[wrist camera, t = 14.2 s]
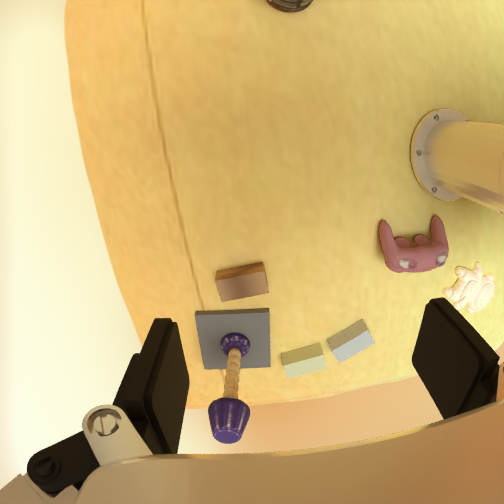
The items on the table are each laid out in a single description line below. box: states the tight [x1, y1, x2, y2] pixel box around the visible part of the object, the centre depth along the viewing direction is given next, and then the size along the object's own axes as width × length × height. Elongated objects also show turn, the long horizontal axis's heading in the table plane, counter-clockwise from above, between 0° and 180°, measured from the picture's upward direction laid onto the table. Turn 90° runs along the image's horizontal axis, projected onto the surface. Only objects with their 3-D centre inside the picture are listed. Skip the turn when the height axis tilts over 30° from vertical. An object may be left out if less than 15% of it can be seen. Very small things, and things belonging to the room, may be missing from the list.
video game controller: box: [379, 216, 449, 273], centre depth 37 cm, size 10×5×7 cm, turn 97°
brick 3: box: [327, 319, 375, 363], centre depth 44 cm, size 6×3×3 cm, turn 125°
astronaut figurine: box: [443, 262, 495, 314], centre depth 42 cm, size 9×12×3 cm
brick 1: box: [215, 262, 269, 302], centre depth 40 cm, size 6×3×3 cm, turn 102°
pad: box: [195, 308, 270, 369], centre depth 45 cm, size 10×10×1 cm
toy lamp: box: [208, 333, 250, 444], centre depth 36 cm, size 5×5×17 cm
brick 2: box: [281, 343, 327, 379], centre depth 45 cm, size 6×3×3 cm, turn 107°
